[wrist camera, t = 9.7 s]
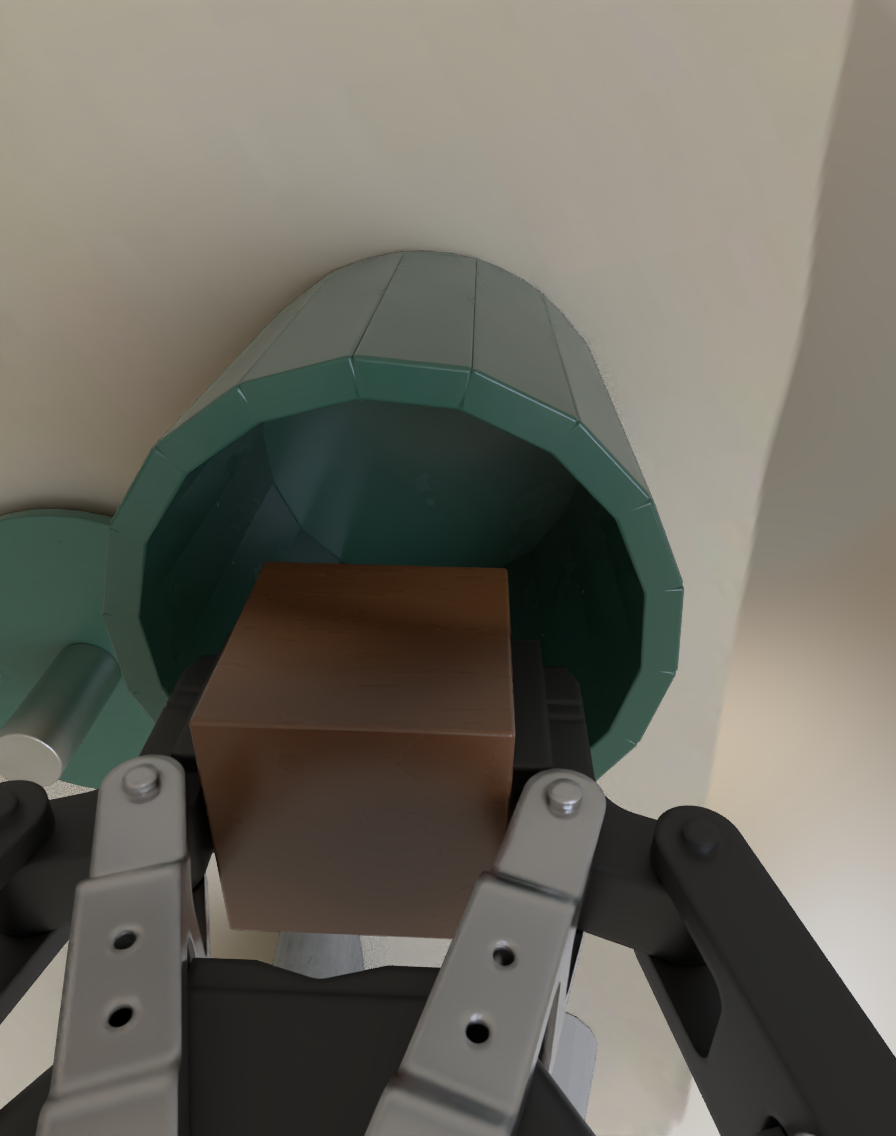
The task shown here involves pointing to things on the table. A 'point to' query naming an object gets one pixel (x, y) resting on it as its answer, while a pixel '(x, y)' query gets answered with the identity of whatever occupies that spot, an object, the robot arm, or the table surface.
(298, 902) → the block
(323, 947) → the hip flask
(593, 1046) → the lava lamp
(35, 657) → the teal disc with peg
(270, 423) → the open teal cylindrical container
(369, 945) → the table surface
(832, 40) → the table surface
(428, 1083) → the robot arm
